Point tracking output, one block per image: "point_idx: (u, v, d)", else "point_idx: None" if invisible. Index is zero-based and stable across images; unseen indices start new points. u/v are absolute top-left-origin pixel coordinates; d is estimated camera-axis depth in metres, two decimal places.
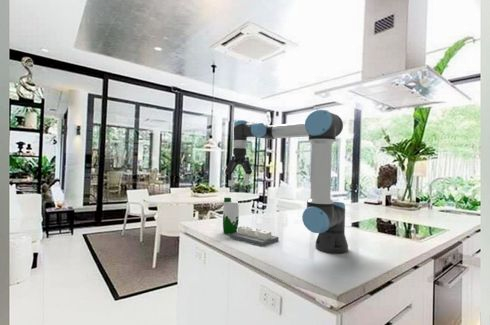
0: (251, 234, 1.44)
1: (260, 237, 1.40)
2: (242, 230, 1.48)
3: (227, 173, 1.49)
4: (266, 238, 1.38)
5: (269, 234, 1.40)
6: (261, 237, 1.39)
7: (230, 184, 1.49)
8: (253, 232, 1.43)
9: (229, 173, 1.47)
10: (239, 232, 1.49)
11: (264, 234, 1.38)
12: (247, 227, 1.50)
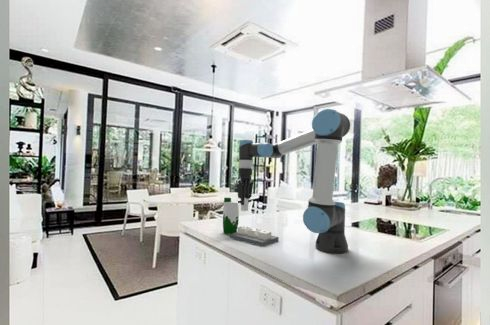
0: (251, 234, 1.44)
1: (260, 237, 1.40)
2: (242, 230, 1.48)
3: (240, 198, 1.50)
4: (266, 238, 1.38)
5: (269, 234, 1.40)
6: (261, 237, 1.39)
7: (243, 209, 1.49)
8: (253, 232, 1.43)
9: (242, 199, 1.48)
10: (239, 232, 1.49)
11: (264, 234, 1.38)
12: (247, 227, 1.50)
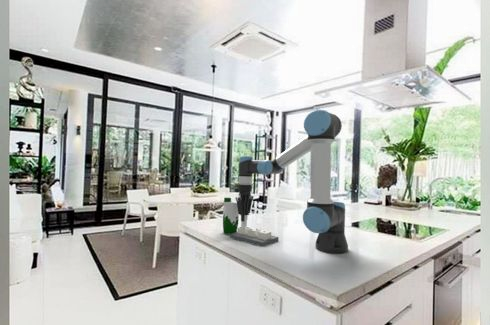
0: (251, 234, 1.44)
1: (260, 237, 1.40)
2: (242, 230, 1.48)
3: (240, 214, 1.50)
4: (266, 238, 1.38)
5: (269, 234, 1.40)
6: (261, 237, 1.39)
7: (243, 225, 1.50)
8: (253, 232, 1.43)
9: (242, 215, 1.49)
10: (238, 232, 1.49)
11: (264, 234, 1.38)
12: (247, 227, 1.50)
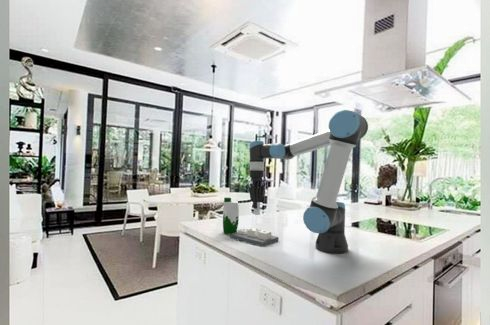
0: (251, 234, 1.44)
1: (260, 237, 1.40)
2: (242, 233, 1.48)
3: (253, 202, 1.45)
4: (266, 238, 1.38)
5: (269, 234, 1.40)
6: (261, 237, 1.39)
7: (256, 212, 1.44)
8: (253, 232, 1.43)
9: (255, 202, 1.43)
10: None
11: (264, 234, 1.38)
12: None
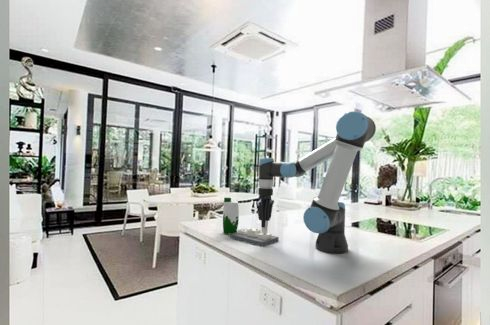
0: (251, 234, 1.44)
1: None
2: (242, 233, 1.48)
3: (261, 220, 1.41)
4: None
5: (269, 236, 1.40)
6: None
7: (263, 231, 1.41)
8: (253, 232, 1.43)
9: (263, 221, 1.40)
10: None
11: (264, 237, 1.38)
12: None
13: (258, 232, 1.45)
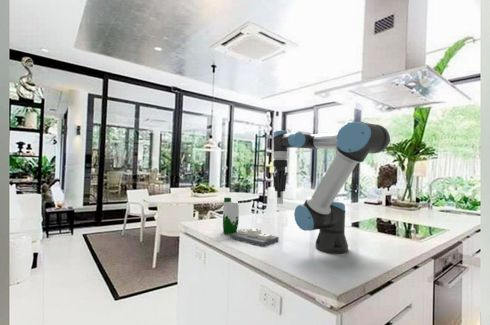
0: (251, 234, 1.44)
1: None
2: (242, 233, 1.48)
3: None
4: None
5: (269, 237, 1.40)
6: None
7: (279, 202, 1.46)
8: (253, 232, 1.43)
9: (279, 191, 1.45)
10: None
11: (264, 237, 1.38)
12: None
13: (258, 232, 1.45)
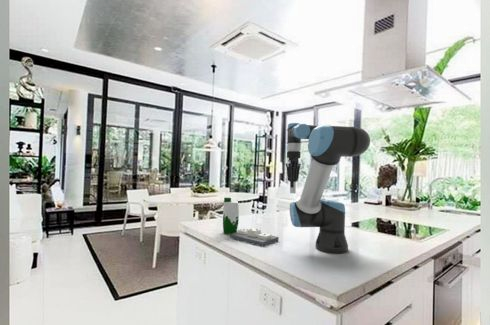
0: (251, 234, 1.44)
1: None
2: (242, 233, 1.48)
3: None
4: None
5: (269, 237, 1.40)
6: None
7: (292, 191, 1.52)
8: (253, 232, 1.43)
9: (292, 182, 1.51)
10: None
11: (264, 237, 1.38)
12: None
13: (258, 232, 1.45)
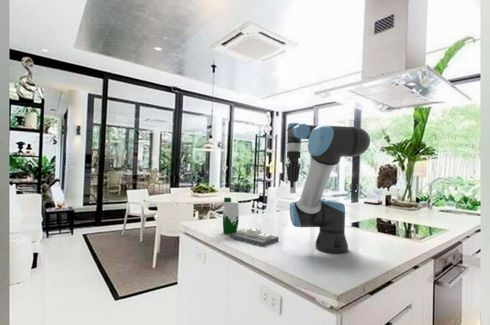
0: (251, 234, 1.44)
1: None
2: (242, 233, 1.48)
3: None
4: None
5: (269, 237, 1.40)
6: None
7: (292, 191, 1.52)
8: (253, 232, 1.43)
9: (292, 182, 1.51)
10: None
11: (264, 237, 1.38)
12: None
13: (258, 232, 1.45)
